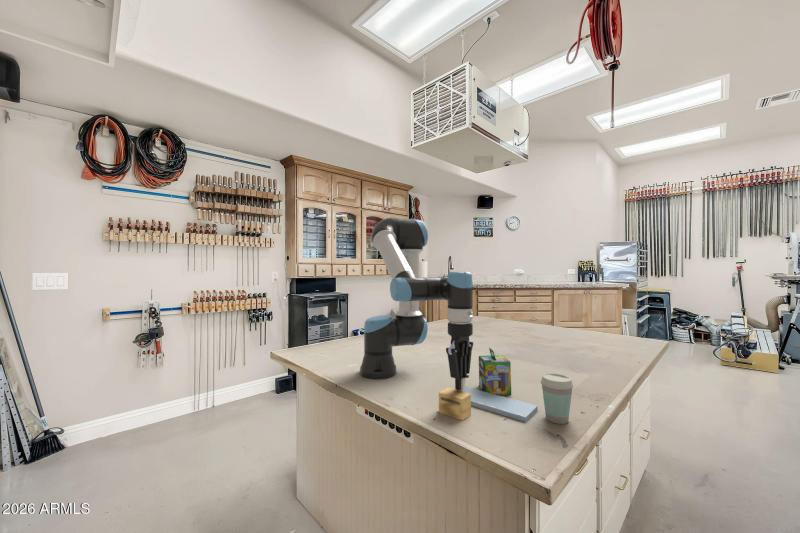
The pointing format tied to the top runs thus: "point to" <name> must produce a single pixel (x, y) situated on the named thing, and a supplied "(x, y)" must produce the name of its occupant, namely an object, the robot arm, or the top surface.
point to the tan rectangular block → (455, 403)
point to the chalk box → (495, 374)
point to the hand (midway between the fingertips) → (460, 399)
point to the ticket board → (501, 405)
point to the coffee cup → (557, 397)
